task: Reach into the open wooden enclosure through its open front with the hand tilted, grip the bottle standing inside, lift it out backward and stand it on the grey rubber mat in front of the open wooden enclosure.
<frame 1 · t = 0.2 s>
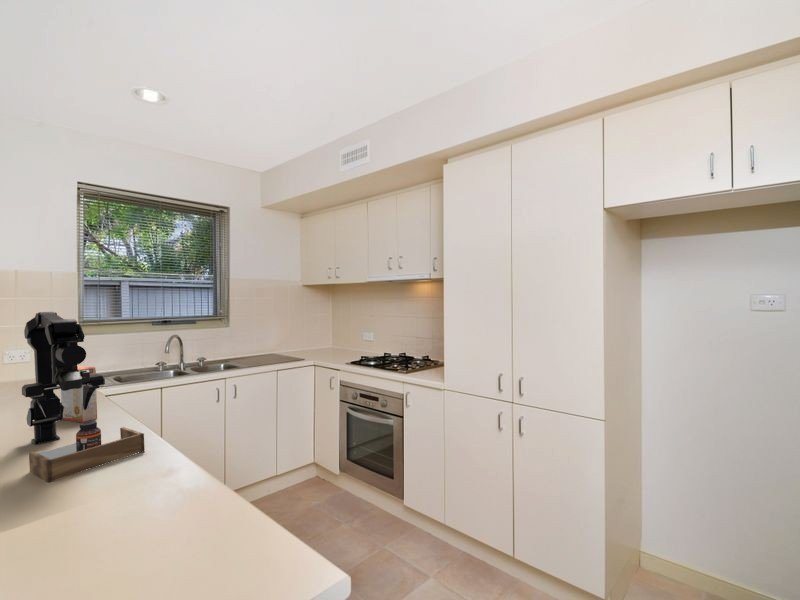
hand: (66, 413, 124), 14 cm above the counter, tool pointing down, fingers open, 9 cm apart
supplement bottle: (89, 461, 122), on the counter
open wooden enclosure: (89, 460, 122), on the counter
cracker box: (79, 419, 164), on the counter
mat: (71, 452, 129), on the counter
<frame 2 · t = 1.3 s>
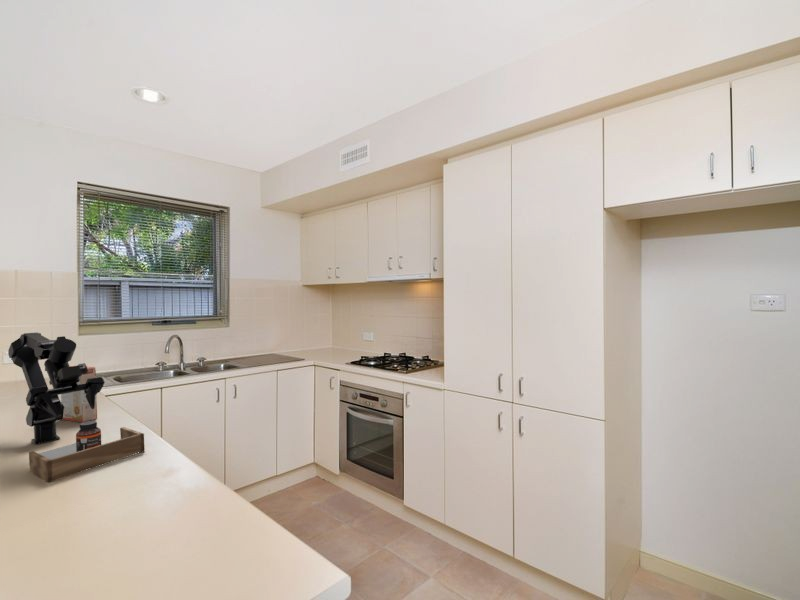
hand: (75, 412, 126), 13 cm above the counter, tool tilted 45°, fingers open, 9 cm apart
nothing on the counter moved.
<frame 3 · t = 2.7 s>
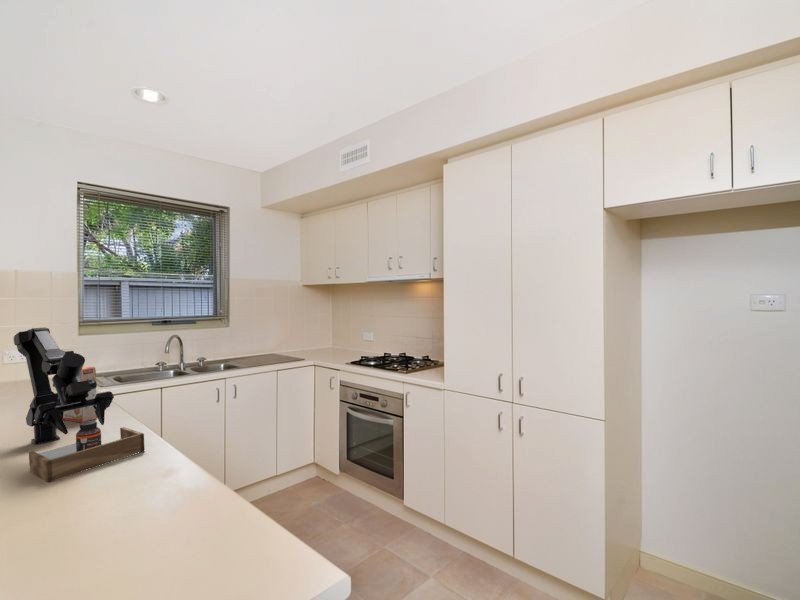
hand: (85, 428, 123), 9 cm above the counter, tool tilted 45°, fingers open, 9 cm apart
nothing on the counter moved.
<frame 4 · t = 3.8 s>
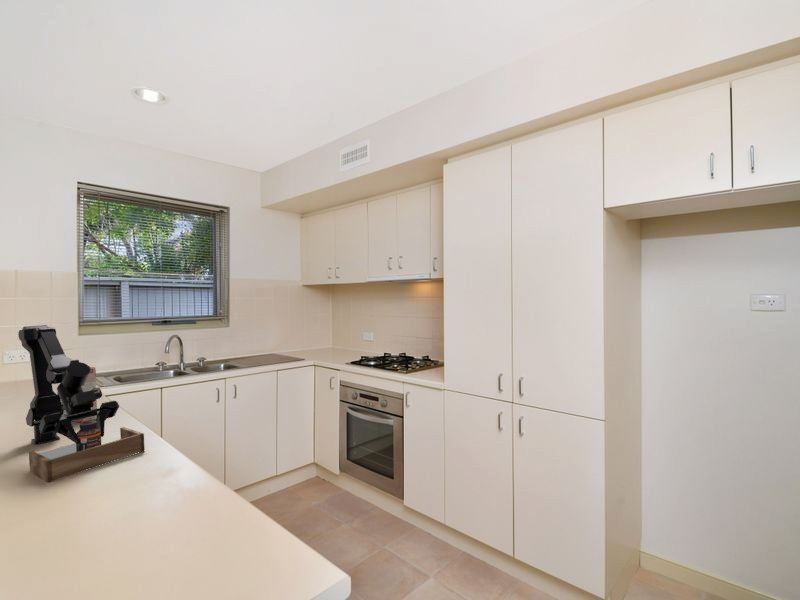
hand: (90, 439, 121), 7 cm above the counter, tool tilted 45°, fingers closed on supplement bottle, 6 cm apart
supplement bottle: (89, 461, 122), on the counter, touching gripper
everything else where it was.
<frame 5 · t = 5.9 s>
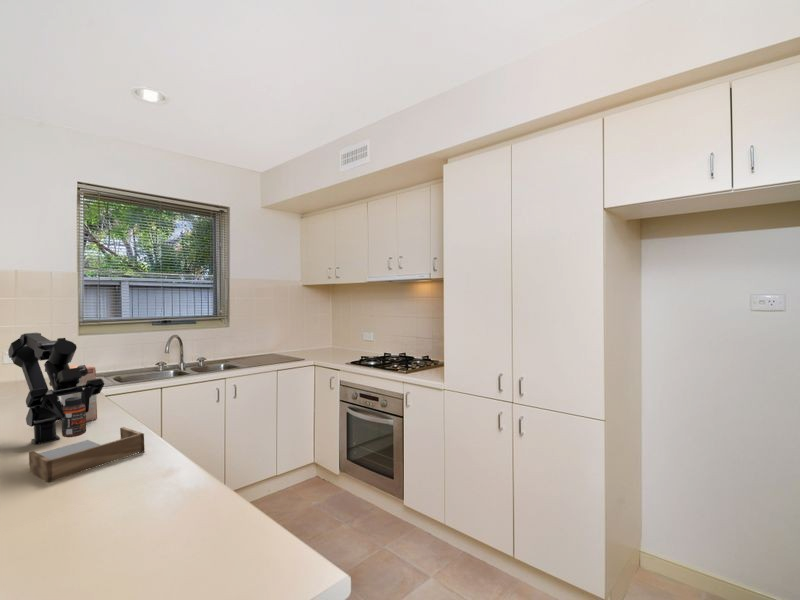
hand: (75, 414, 126), 13 cm above the counter, tool tilted 45°, fingers closed on supplement bottle, 6 cm apart
supplement bottle: (74, 435, 127), point 6 cm above the counter, touching gripper
everything else where it was.
when the fingers open (8 cm above the counter, at t = 7.6 s): supplement bottle stays where it is, resting on mat.
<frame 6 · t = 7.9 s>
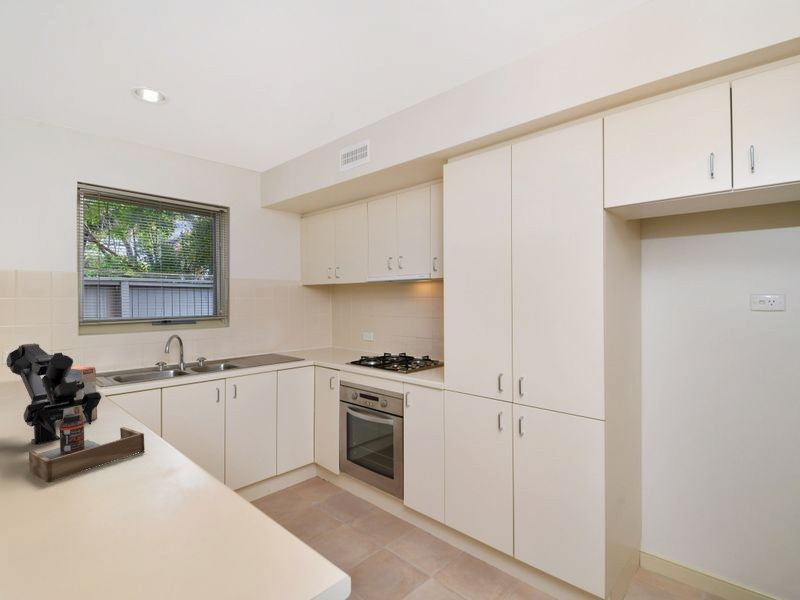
hand: (73, 427, 128), 8 cm above the counter, tool tilted 45°, fingers open, 9 cm apart
supplement bottle: (72, 451, 129), resting on mat
everything else where it was.
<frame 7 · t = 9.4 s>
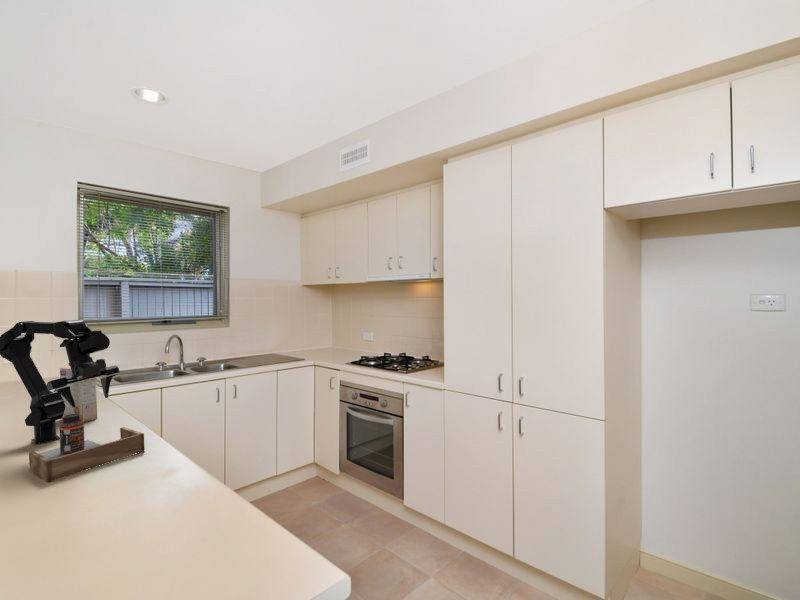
hand: (91, 402, 137), 13 cm above the counter, tool pointing down, fingers open, 9 cm apart
nothing on the counter moved.
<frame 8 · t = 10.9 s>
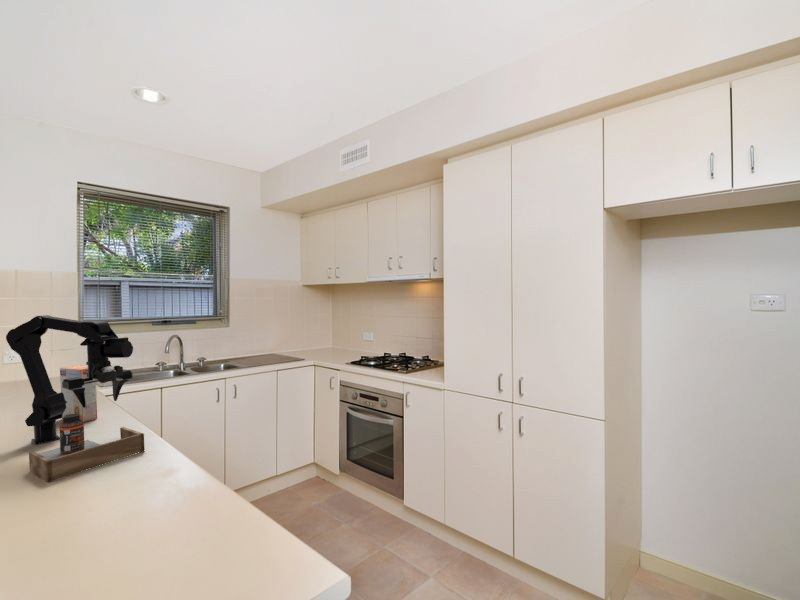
hand: (100, 404, 140), 12 cm above the counter, tool pointing down, fingers open, 9 cm apart
nothing on the counter moved.
at the end: supplement bottle 0.8 cm from the mat (horizontally); supplement bottle inside the target area (3.3 cm from its centre), resting on mat; supplement bottle tilted 0° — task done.
